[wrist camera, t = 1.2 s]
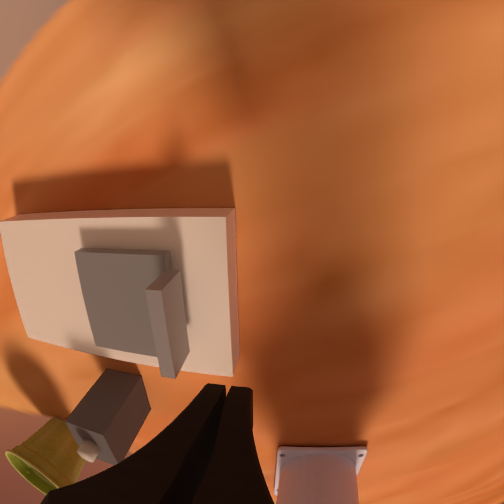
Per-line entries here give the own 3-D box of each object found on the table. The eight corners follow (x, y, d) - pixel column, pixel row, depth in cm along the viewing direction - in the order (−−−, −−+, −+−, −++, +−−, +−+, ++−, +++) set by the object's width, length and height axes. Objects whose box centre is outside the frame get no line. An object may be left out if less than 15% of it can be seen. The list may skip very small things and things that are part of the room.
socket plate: (239, 353, 21) (233, 376, 19) (44, 323, 24) (27, 337, 21) (235, 208, 18) (225, 217, 16) (19, 214, 21) (-2, 221, 18)
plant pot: (64, 450, 32) (36, 491, 24) (29, 401, 29) (-8, 443, 21) (114, 464, 30) (87, 514, 22) (77, 412, 27) (38, 466, 19)
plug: (151, 409, 25) (113, 477, 17) (117, 401, 25) (76, 463, 18) (141, 375, 24) (95, 447, 16) (106, 368, 24) (56, 431, 16)
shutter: (195, 354, 18) (177, 389, 15) (101, 339, 19) (76, 366, 16) (184, 251, 16) (159, 274, 13) (81, 247, 17) (47, 266, 14)
